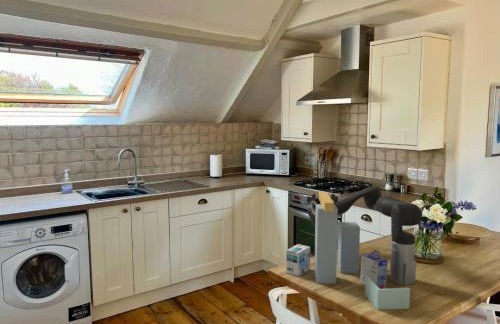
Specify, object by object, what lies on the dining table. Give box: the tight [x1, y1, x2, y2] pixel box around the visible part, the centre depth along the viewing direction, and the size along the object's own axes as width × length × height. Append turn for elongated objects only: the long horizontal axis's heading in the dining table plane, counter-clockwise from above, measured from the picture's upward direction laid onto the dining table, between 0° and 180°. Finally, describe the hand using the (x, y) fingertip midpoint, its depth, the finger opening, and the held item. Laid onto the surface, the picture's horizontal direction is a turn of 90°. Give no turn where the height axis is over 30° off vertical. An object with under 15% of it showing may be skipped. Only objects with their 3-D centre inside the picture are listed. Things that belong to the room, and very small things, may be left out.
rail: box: [318, 191, 334, 212], centre depth 169 cm, size 22×4×4 cm, turn 176°
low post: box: [337, 221, 361, 274], centre depth 180 cm, size 8×8×21 cm
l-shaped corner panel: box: [364, 276, 411, 311], centre depth 150 cm, size 12×12×8 cm
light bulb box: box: [285, 243, 311, 277], centre depth 179 cm, size 11×7×11 cm, turn 143°
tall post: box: [314, 204, 338, 285], centre depth 169 cm, size 8×8×32 cm
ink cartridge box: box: [359, 249, 388, 289], centre depth 164 cm, size 10×6×14 cm, turn 28°
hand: (323, 195), depth 174 cm, fingers open, 7 cm apart
